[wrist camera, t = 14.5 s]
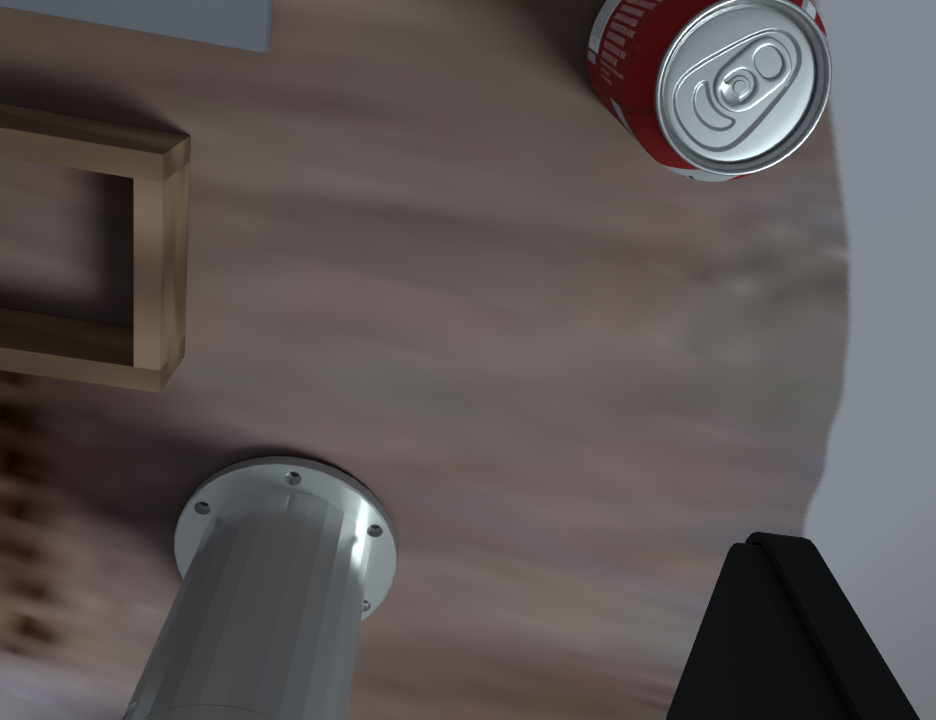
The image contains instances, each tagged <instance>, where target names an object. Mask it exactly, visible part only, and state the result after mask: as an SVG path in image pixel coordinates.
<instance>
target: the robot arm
mask: <svg viewBox="0 0 936 720" xmlns="http://www.w3.org/2000/svg"><path fill="white" fill-rule="evenodd" d="M174 554H175V559H176V563H177V568H178V570H179V572H180V575H181V577H182V579H183V582H182V584H181V586H180V588H179V591H178V593H177V595H176V597H175V600H174V602H173V604H172V607H171V609H170V611H169V613H168V616H167V618H166V620H165V623H164V625H163V627H162V629H161V632H160V634H159V636H158V639H157V641H156V643H155V645H154V648H153V650H152V652H151V655H150V657H149V659H148V661H147V664H146V666H145V668H144V671H143V673H142V675H141V677H140V680H139V682H138V684H137V687H136V689H135V691H134V693H133V696H132V698H131V700H130V703H129V705H128V707H127V709H126V712H125V714H124V716H123V719H122V720H347V714H348V707H349V700H350V693H351V686H352V680H353V673H354V666H355V659H356V652H357V645H358V639H359V632H360V625H361V621H362V620H364V619H365V618H367V617H368V616H369V615H371V614H372V613H373V612H374V611H375V609H376V608H377V607H378V606H379V605H380V604H381V603H382V602H383V600H384V598H385V597H386V595H387V593H388V591H389V590H390V588H391V585H392V582H393V579H394V575H395V572H396V563H397V542H396V535H395V532H394V529H393V526H392V523H391V520H390V518H389V517H388V515H387V513H386V511H385V510H384V508H383V506H382V505H381V504H380V502H379V501H378V500H377V499H376V498H375V497H374V496H373V494H372V493H371V492H370V491H369V490H368V489H366V488H365V487H364V486H363V485H361V484H360V483H359V482H358V481H356V480H355V479H354V478H352V477H350V476H349V475H347V474H345V473H343V472H341V471H339V470H338V469H336V468H334V467H331V466H328V465H325V464H322V463H319V462H316V461H313V460H308V459H302V458H296V457H283V456H268V457H261V458H254V459H248V460H245V461H242V462H239V463H236V464H233V465H230V466H228V467H226V468H224V469H222V470H220V471H219V472H217V473H215V474H213V475H211V476H210V477H209V478H208V479H207V480H206V481H205V482H203V483H202V484H201V485H200V486H199V487H198V488H197V489H196V490H195V492H194V493H193V494H192V496H191V497H190V498H189V500H188V501H187V503H186V505H185V507H184V509H183V511H182V513H181V515H180V517H179V520H178V523H177V527H176V530H175V534H174ZM666 720H920V719H919V717H918V716H917V714H916V712H915V711H914V709H913V707H912V706H911V704H910V703H909V701H908V699H907V697H906V696H905V694H904V693H903V691H902V689H901V687H900V686H899V684H898V683H897V681H896V679H895V677H894V676H893V674H892V673H891V671H890V669H889V668H888V666H887V664H886V663H885V661H884V659H883V658H882V656H881V654H880V653H879V651H878V649H877V648H876V646H875V644H874V643H873V641H872V639H871V638H870V636H869V634H868V633H867V631H866V629H865V628H864V626H863V624H862V623H861V621H860V619H859V618H858V616H857V615H856V613H855V611H854V610H853V608H852V606H851V604H850V603H849V601H848V599H847V598H846V596H845V595H844V593H843V592H842V589H841V588H840V586H839V584H838V583H837V581H836V580H835V578H834V576H833V575H832V573H831V571H830V570H829V568H828V566H827V565H826V563H825V561H824V560H823V558H822V556H821V555H820V553H819V551H818V550H817V548H816V546H815V545H814V544H813V543H812V542H811V541H810V540H808V539H806V538H801V537H794V536H786V535H779V534H771V533H763V532H755V533H752V534H751V535H750V536H749V537H748V538H747V540H746V542H745V544H744V543H735V544H733V546H732V547H731V548H730V550H729V552H728V554H727V556H726V559H725V562H724V564H723V567H722V570H721V572H720V575H719V578H718V580H717V583H716V586H715V588H714V591H713V594H712V596H711V599H710V602H709V604H708V607H707V610H706V612H705V615H704V618H703V620H702V623H701V626H700V628H699V631H698V634H697V636H696V639H695V642H694V644H693V647H692V650H691V652H690V655H689V658H688V660H687V663H686V666H685V668H684V671H683V674H682V676H681V679H680V682H679V684H678V687H677V690H676V693H675V695H674V698H673V701H672V703H671V706H670V709H669V711H668V714H667V718H666Z"/></svg>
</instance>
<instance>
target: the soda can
mask: <svg viewBox="0 0 936 720" xmlns="http://www.w3.org/2000/svg"><path fill="white" fill-rule="evenodd" d="M587 66H588V72H589V77H590V80H591V83H592V86H593V88H594V90H595V92H596V94H597V96H598V98H599V99H600V101H601V102H602V104H603V105H604V106H605V107H606V108H607V109H608V110H609V112H610V113H611V114H612V115H613V116H614V117H615V118H616V119H617V120H618V121H619V122H620V123H621V124H622V125H623V126H624V128H625V129H626V130H627V131H628V132H629V133H630V134H631V135H632V136H633V137H634V138H635V139H636V140H637V141H638V143H639V144H640V145H641V146H642V147H643V148H644V149H645V150H646V151H647V152H648V153H649V154H650V155H651V156H652V157H653V158H654V159H655V160H656V161H657V162H659V163H660V164H661V165H663V166H664V167H666V168H667V169H669V170H671V171H672V172H675V173H677V174H679V175H681V176H685V177H688V178H691V179H696V180H702V181H727V180H733V179H738V178H741V177H745V176H748V175H750V174H753V173H756V172H758V171H761V170H764V169H766V168H769V167H771V166H773V165H775V164H777V163H778V162H780V161H782V160H783V159H785V158H786V157H788V156H789V155H790V154H791V153H793V152H794V151H795V150H796V149H797V148H798V147H799V146H800V145H801V144H802V143H803V142H804V141H805V140H806V139H807V138H808V136H809V135H810V134H811V132H812V131H813V130H814V128H815V127H816V125H817V123H818V122H819V120H820V118H821V116H822V114H823V112H824V109H825V106H826V104H827V101H828V97H829V93H830V88H831V80H832V64H831V56H830V51H829V45H828V40H827V35H826V32H825V29H824V26H823V24H822V21H821V19H820V17H819V15H818V13H817V11H816V10H815V8H814V7H813V5H812V4H811V3H810V1H809V0H605V2H604V3H603V5H602V6H601V8H600V10H599V11H598V13H597V15H596V17H595V20H594V22H593V25H592V27H591V31H590V34H589V39H588V45H587Z"/></svg>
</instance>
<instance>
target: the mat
mask: <svg viewBox="0 0 936 720" xmlns="http://www.w3.org/2000/svg"><path fill="white" fill-rule="evenodd" d="M272 2H273V0H0V6H4V7H9V8H15V9H20V10H26V11H32V12H37V13H43V14H48V15H54V16H60V17H65V18H71V19H76V20H82V21H88V22H93V23H99V24H104V25H110V26H116V27H121V28H127V29H132V30H138V31H144V32H149V33H155V34H160V35H166V36H172V37H177V38H183V39H188V40H194V41H200V42H205V43H211V44H216V45H222V46H228V47H233V48H239V49H244V50H250V51H256V52H261V53H266V52H268V51H269V48H270V33H271V17H272Z"/></svg>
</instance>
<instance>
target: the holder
mask: <svg viewBox="0 0 936 720" xmlns="http://www.w3.org/2000/svg"><path fill="white" fill-rule="evenodd" d="M190 138H191V136H190V135H184V134H178V133H172V132H166V131H160V130H154V129H148V128H143V127H137V126H131V125H125V124H119V123H113V122H107V121H101V120H95V119H89V118H83V117H78V116H72V115H66V114H60V113H54V112H48V111H42V110H36V109H30V108H24V107H18V106H13V105H7V104H1V103H0V156H2V157H8V158H14V159H20V160H26V161H32V162H38V163H44V164H50V165H56V166H63V167H69V168H75V169H81V170H87V171H93V172H99V173H105V174H111V175H117V176H123V177H130V178H134V328H132V327H125V326H118V325H112V324H105V323H98V322H91V321H85V320H78V319H71V318H65V317H58V316H51V315H45V314H38V313H31V312H25V311H18V310H11V309H5V308H0V370H3V371H10V372H17V373H24V374H31V375H38V376H45V377H52V378H59V379H66V380H73V381H80V382H86V383H93V384H100V385H107V386H114V387H121V388H128V389H135V390H142V391H149V392H156V393H160V392H161V390H162V389H163V387H164V386H165V384H166V383H167V381H168V380H169V378H170V377H171V375H172V374H173V372H174V371H175V369H176V368H177V366H178V365H179V364H180V362H181V361H182V359H183V358H184V351H185V316H186V280H187V245H188V209H189V174H190Z"/></svg>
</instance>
